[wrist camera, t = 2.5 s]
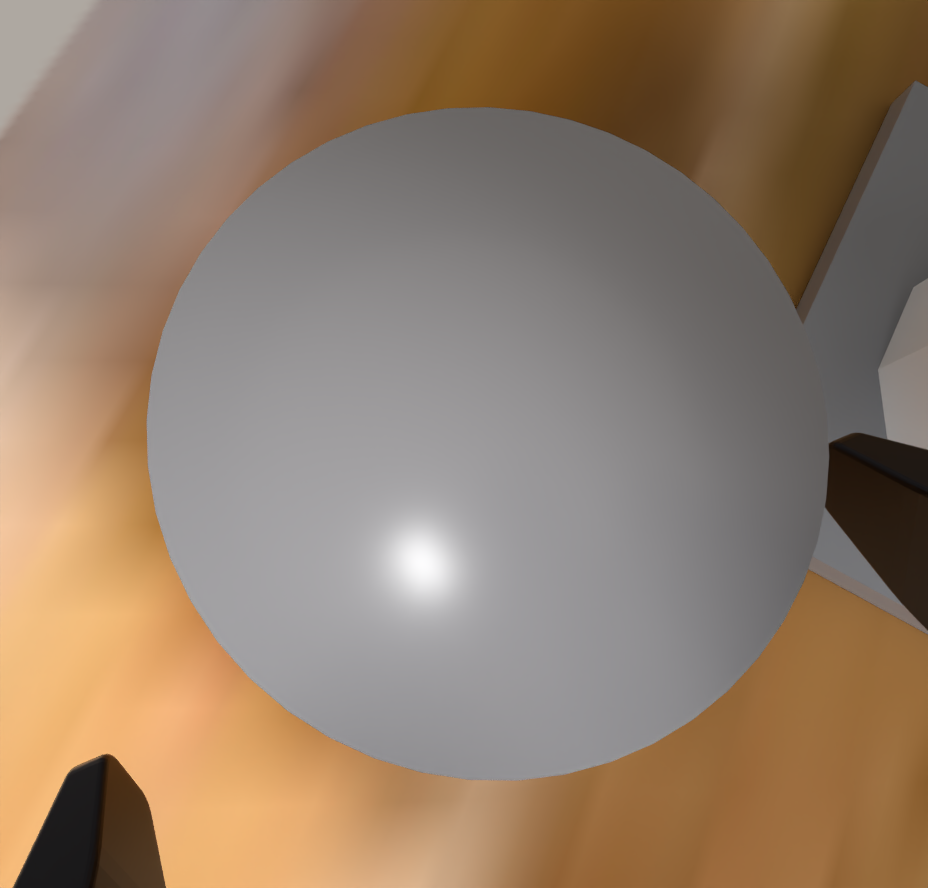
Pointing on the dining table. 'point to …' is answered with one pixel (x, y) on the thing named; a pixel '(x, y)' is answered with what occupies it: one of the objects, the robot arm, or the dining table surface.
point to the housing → (875, 320)
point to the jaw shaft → (487, 444)
